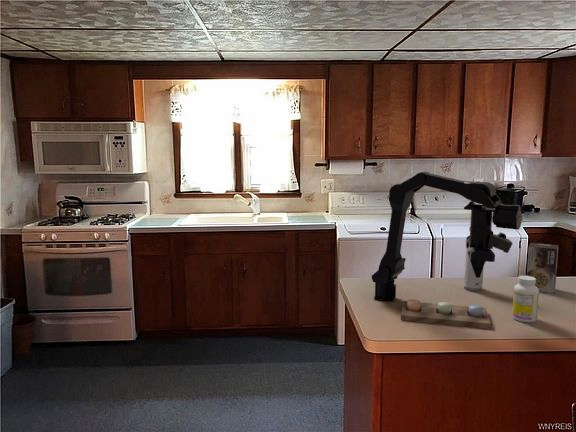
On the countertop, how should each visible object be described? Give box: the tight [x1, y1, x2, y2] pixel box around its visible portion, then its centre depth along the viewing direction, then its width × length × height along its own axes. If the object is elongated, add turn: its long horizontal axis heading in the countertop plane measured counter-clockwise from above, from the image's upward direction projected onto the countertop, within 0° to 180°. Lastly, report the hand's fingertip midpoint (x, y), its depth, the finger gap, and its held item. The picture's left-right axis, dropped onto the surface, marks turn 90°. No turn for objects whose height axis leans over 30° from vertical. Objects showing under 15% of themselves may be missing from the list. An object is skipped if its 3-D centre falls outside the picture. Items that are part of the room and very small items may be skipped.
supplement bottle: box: [511, 275, 540, 323], centre depth 137 cm, size 7×7×13 cm
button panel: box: [400, 300, 492, 330], centre depth 141 cm, size 25×13×2 cm, turn 73°
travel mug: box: [463, 235, 485, 292], centre depth 165 cm, size 6×7×20 cm
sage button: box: [437, 301, 452, 315], centre depth 141 cm, size 4×4×2 cm
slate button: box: [468, 304, 484, 318], centre depth 138 cm, size 4×4×2 cm
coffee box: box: [526, 242, 559, 294], centre depth 164 cm, size 9×6×16 cm
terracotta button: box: [406, 298, 421, 312], centre depth 143 cm, size 4×4×2 cm
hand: (477, 277), depth 137 cm, fingers closed
